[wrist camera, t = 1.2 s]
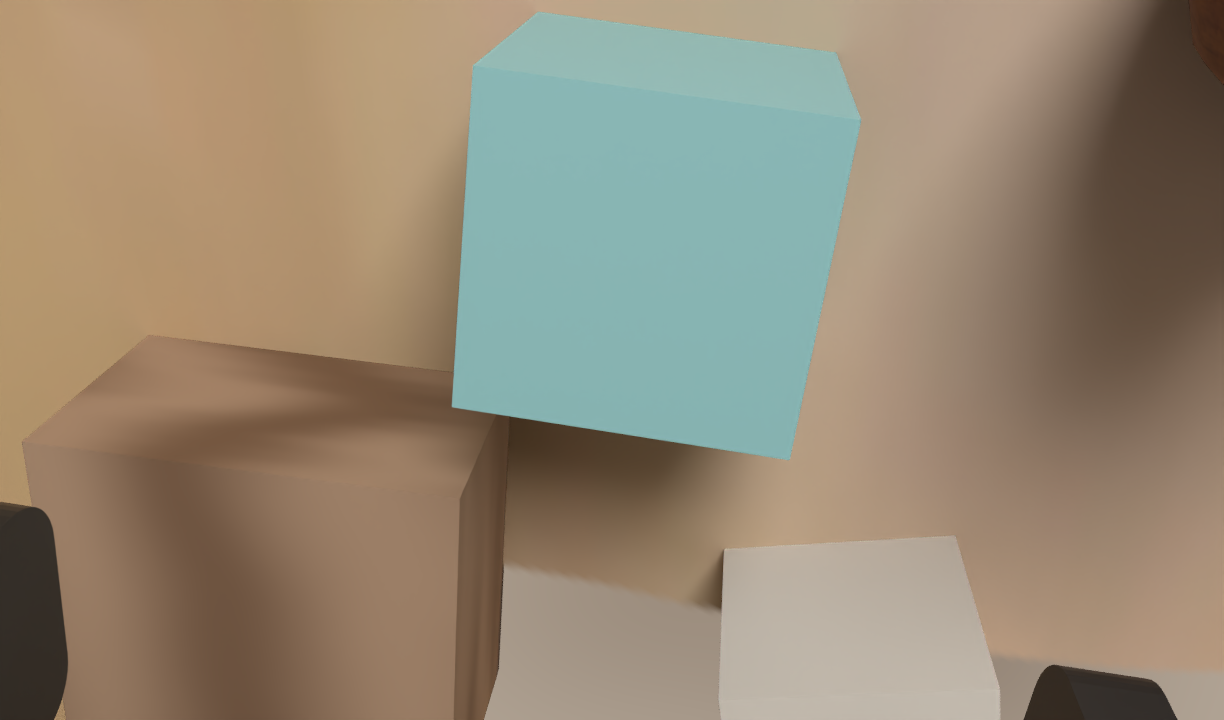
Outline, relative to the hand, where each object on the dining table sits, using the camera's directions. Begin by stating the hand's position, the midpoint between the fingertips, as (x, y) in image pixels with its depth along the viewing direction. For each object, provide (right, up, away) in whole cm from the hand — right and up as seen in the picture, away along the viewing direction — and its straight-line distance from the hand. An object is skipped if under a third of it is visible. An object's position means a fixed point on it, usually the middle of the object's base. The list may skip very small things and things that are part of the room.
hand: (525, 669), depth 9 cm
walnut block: (-6, -1, +17) cm, 18 cm away
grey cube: (+6, -4, +17) cm, 18 cm away
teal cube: (+2, +6, +13) cm, 14 cm away
